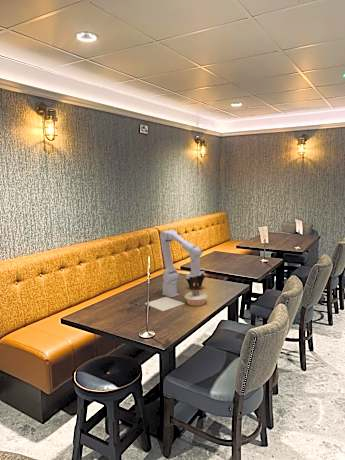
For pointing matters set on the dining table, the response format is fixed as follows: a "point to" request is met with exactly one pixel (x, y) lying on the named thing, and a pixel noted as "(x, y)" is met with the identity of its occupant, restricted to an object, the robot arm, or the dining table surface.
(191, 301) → the bowl
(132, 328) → the dining table surface
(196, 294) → the lid
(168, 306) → the mat
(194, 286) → the brown miniature tree
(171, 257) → the robot arm
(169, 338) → the dining table surface
